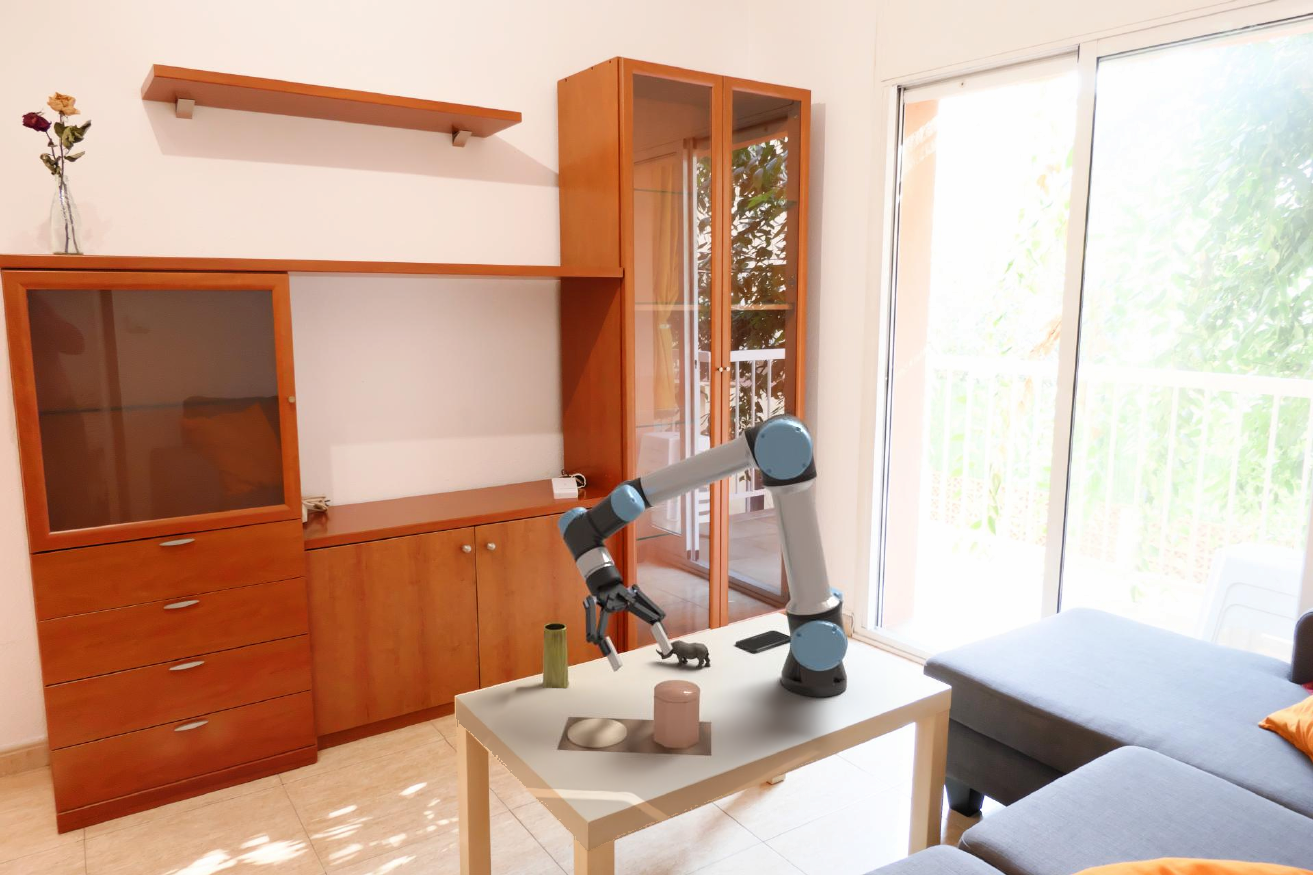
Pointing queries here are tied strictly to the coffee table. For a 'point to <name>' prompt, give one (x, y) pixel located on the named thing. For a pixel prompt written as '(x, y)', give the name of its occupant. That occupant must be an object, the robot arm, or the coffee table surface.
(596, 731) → the coaster
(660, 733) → the domed lid canister
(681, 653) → the rhino figurine
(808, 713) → the coffee table surface
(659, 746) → the board
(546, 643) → the vase
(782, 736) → the coffee table surface
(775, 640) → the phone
